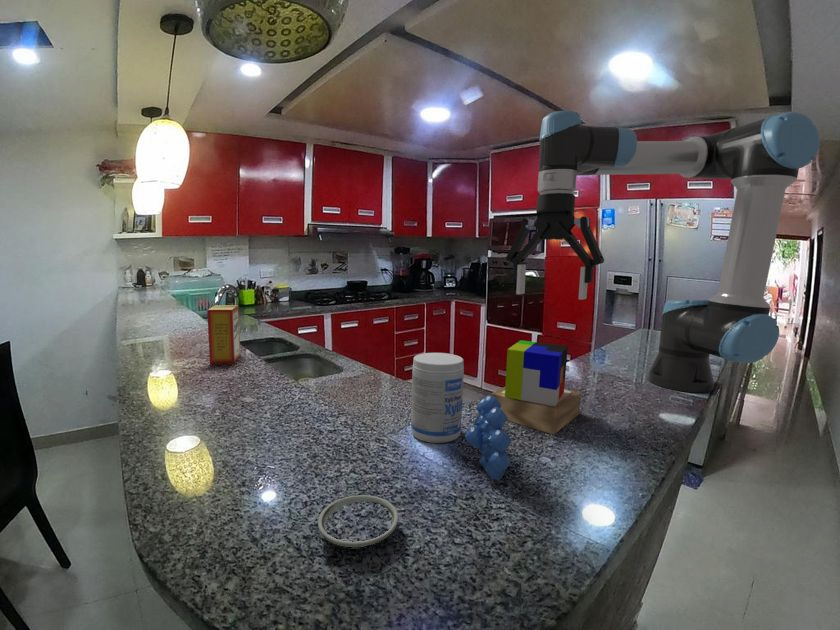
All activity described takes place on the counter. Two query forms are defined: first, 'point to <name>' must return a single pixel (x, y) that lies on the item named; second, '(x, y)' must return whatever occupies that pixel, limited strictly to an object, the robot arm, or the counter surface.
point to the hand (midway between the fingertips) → (550, 296)
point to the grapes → (490, 437)
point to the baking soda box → (223, 333)
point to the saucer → (350, 500)
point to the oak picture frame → (540, 411)
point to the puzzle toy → (536, 372)
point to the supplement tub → (437, 397)
